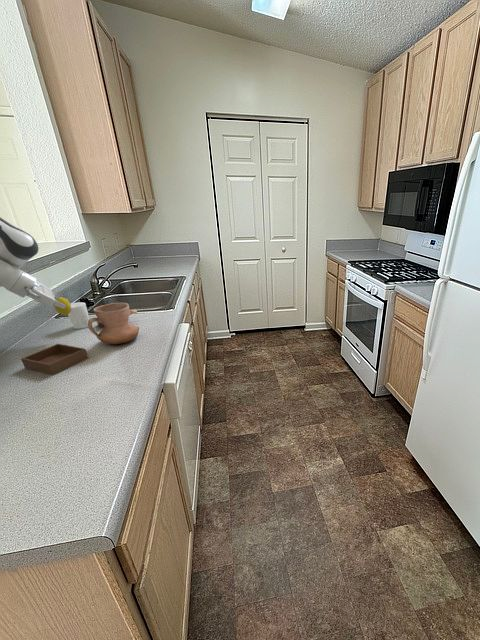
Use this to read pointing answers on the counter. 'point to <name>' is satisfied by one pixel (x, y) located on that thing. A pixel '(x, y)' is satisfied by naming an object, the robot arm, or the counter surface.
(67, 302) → the lemon
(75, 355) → the tray
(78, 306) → the white cup
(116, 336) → the ceramic jug
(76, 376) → the counter surface
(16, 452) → the counter surface
